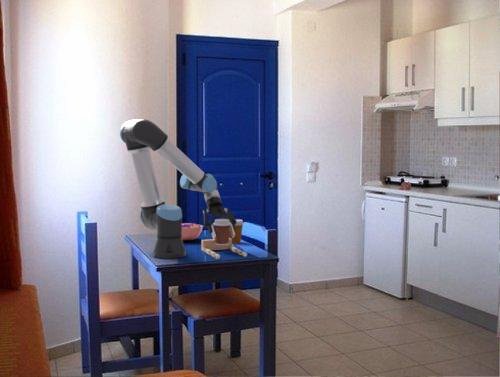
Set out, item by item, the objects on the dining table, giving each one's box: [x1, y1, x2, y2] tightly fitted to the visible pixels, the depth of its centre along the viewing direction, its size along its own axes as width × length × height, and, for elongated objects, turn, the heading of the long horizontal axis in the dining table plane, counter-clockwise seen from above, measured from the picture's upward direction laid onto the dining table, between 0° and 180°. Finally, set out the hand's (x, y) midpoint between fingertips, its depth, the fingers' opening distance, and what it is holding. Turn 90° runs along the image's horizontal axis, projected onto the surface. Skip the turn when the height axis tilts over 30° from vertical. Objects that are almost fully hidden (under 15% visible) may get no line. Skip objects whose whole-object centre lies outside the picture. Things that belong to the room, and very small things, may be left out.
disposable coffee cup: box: [229, 218, 244, 245], centre depth 311 cm, size 10×10×12 cm
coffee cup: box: [212, 218, 231, 245], centre depth 286 cm, size 9×9×12 cm
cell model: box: [182, 222, 204, 242], centre depth 317 cm, size 17×20×11 cm
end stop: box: [200, 238, 233, 252], centre depth 293 cm, size 3×15×5 cm, turn 113°
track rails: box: [202, 245, 248, 260], centre depth 282 cm, size 20×15×2 cm
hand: (224, 236), depth 283 cm, fingers closed on coffee cup, 9 cm apart
